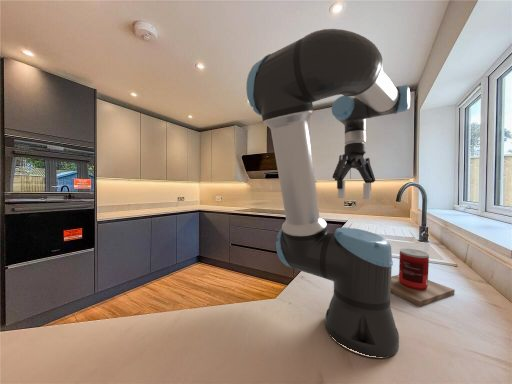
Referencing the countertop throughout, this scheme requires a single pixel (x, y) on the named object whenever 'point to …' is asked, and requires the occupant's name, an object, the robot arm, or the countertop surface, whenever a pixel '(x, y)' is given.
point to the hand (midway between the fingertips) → (354, 198)
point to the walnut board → (420, 292)
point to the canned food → (413, 269)
